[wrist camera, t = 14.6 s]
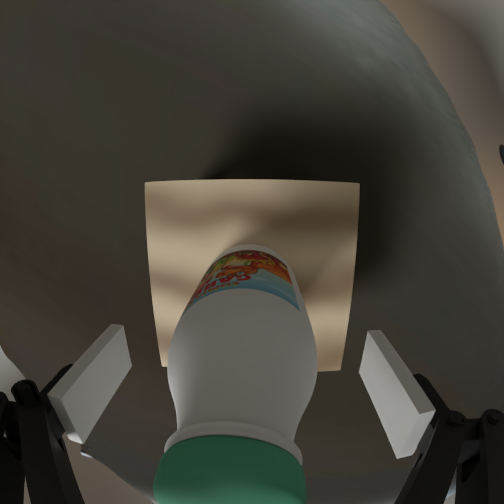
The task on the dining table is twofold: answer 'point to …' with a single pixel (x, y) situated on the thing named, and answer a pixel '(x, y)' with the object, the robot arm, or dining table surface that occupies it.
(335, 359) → the oak footstool
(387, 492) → the dining table surface
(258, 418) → the milk bottle
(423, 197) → the dining table surface
